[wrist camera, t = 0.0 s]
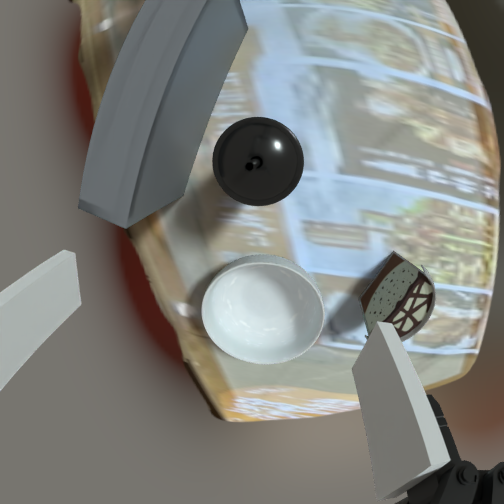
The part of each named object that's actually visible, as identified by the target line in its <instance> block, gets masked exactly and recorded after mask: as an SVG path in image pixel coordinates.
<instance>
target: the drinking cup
mask: <svg viewBox="0 0 504 504" xmlns="http://www.w3.org/2000/svg"><path fill="white" fill-rule="evenodd" d="M212 162H213V171H214V174H215V177H216V179H217V182H218V183H219V185H220V186H221V188H222V189H223V190H224V191H225V192H226V193H227V194H228V195H229V196H230V197H232V198H233V199H235V200H236V201H238V202H241V203H243V204H246V205H251V206H266V205H270V204H274V203H276V202H279V201H281V200H282V199H284V198H285V197H287V196H288V195H289V194H290V193H291V192H292V191H293V190H294V189H295V187H296V186H297V184H298V183H299V181H300V178H301V176H302V173H303V167H304V157H303V151H302V148H301V145H300V143H299V141H298V139H297V138H296V136H295V135H294V134H293V132H292V131H291V130H290V129H289V128H287V127H286V126H285V125H283V124H282V123H280V122H278V121H276V120H273V119H270V118H265V117H251V118H246V119H243V120H240V121H238V122H236V123H234V124H232V125H231V126H230V127H228V128H227V129H226V130H225V131H224V132H223V133H222V135H221V136H220V138H219V139H218V141H217V143H216V145H215V148H214V152H213V160H212Z"/></svg>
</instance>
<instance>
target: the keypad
mask: <svg viewBox="0 0 504 504" xmlns="http://www.w3.org/2000/svg"><path fill="white" fill-rule="evenodd" d="M247 30H248V26H247V23H246V20H245V16H244V13H243V10H242V7H241V4H240V1H239V0H145V2H144V4H143V6H142V8H141V9H140V11H139V13H138V15H137V17H136V19H135V21H134V23H133V25H132V27H131V29H130V31H129V33H128V35H127V37H126V39H125V41H124V43H123V46H122V48H121V50H120V53H119V55H118V57H117V60H116V62H115V65H114V67H113V70H112V72H111V75H110V78H109V80H108V83H107V86H106V89H105V92H104V95H103V98H102V101H101V104H100V107H99V111H98V114H97V118H96V121H95V125H94V128H93V132H92V136H91V141H90V145H89V149H88V153H87V158H86V163H85V168H84V173H83V179H82V185H81V191H80V198H79V205H78V208H79V209H81V210H83V211H86V212H88V213H90V214H93V215H95V216H97V217H99V218H102V219H104V220H106V221H109V222H111V223H113V224H116V225H118V226H120V227H123V228H125V229H127V228H128V227H130V226H131V225H133V224H135V223H136V222H138V221H140V220H141V219H143V218H145V217H146V216H148V215H150V214H152V213H153V212H155V211H157V210H159V209H160V208H162V207H164V206H166V205H167V204H169V203H171V202H173V201H175V200H176V199H178V198H180V197H182V196H183V195H184V192H185V189H186V185H187V182H188V179H189V176H190V173H191V170H192V167H193V164H194V161H195V158H196V155H197V152H198V149H199V146H200V143H201V141H202V138H203V135H204V132H205V129H206V127H207V124H208V121H209V119H210V116H211V113H212V111H213V108H214V106H215V103H216V101H217V98H218V96H219V93H220V91H221V88H222V86H223V83H224V81H225V79H226V76H227V74H228V72H229V69H230V67H231V65H232V63H233V60H234V58H235V56H236V54H237V51H238V49H239V47H240V45H241V43H242V41H243V39H244V37H245V34H246V32H247Z"/></svg>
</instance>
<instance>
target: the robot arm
mask: <svg viewBox="0 0 504 504" xmlns="http://www.w3.org/2000/svg"><path fill="white" fill-rule="evenodd" d="M81 304H82V303H81V296H80V290H79V282H78V274H77V265H76V255H75V253H73V252H69V251H66V250H63V251H61V252H59V253H58V254H56V255H55V256H53V257H51V258H50V259H48V260H47V261H45V262H44V263H42V264H41V265H39V266H37V267H36V268H34V269H33V270H31V271H30V272H28V273H27V274H26V275H24V276H23V277H21V278H20V279H18V280H17V281H15V282H14V283H13V284H11V285H10V286H8V287H7V288H6V289H4V290H3V291H2V292H0V391H1V390H2V388H3V387H4V386H5V385H6V383H7V382H8V381H9V380H10V378H12V376H13V375H14V374H15V373H16V372H17V371H18V370H19V368H20V367H21V366H22V365H23V364H24V363H25V362H26V361H27V360H28V358H29V357H30V356H31V355H32V354H33V353H34V352H35V351H36V350H37V349H38V348H39V346H41V344H42V343H43V342H44V341H45V340H46V339H47V338H48V337H49V336H50V335H51V334H52V333H53V332H54V331H55V330H56V329H57V328H58V327H59V326H60V325H61V324H62V323H63V322H64V321H65V320H66V319H67V318H68V317H69V316H70V315H71V314H72V313H73V312H74V311H75V310H76V309H77V308H78V307H79V306H80V305H81ZM352 372H353V376H354V380H355V384H356V389H357V393H358V397H359V402H360V406H361V411H362V416H363V421H364V425H365V430H366V436H367V441H368V446H369V452H370V458H371V464H372V470H373V476H374V483H375V491H376V498H377V501H379V500H385V499H390V498H395V497H397V496H399V495H401V494H402V493H404V492H406V491H407V494H408V497H406V498H404V499H402V500H401V501H399V502H397V503H395V504H504V462H500V463H499V464H497V465H496V466H495V467H494V468H492V469H491V470H477V469H476V467H475V466H474V465H473V464H472V463H471V462H469V461H465V460H464V461H461V459H460V456H459V454H458V451H457V448H456V445H455V443H454V440H453V437H452V435H451V432H450V429H449V427H447V422H446V419H445V418H444V417H443V416H444V414H443V412H442V410H441V407H440V405H439V404H438V402H437V401H436V400H435V399H434V397H433V396H432V395H426V394H425V391H424V389H423V387H422V384H421V382H420V380H419V378H418V375H417V373H416V371H415V369H414V367H413V365H412V362H411V360H410V358H409V356H408V354H407V352H406V350H405V348H404V346H403V344H402V342H401V340H400V338H399V336H398V334H397V332H396V330H395V328H394V326H393V324H392V323H385V322H378V321H377V322H376V324H375V326H374V328H373V330H372V332H371V334H370V336H369V338H368V340H367V342H366V344H365V346H364V348H363V349H362V351H361V353H360V355H359V357H358V359H357V360H356V362H355V364H354V366H353V367H352Z"/></svg>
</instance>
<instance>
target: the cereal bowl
mask: <svg viewBox="0 0 504 504" xmlns="http://www.w3.org/2000/svg"><path fill="white" fill-rule="evenodd" d="M201 314H202V320H203V324H204V327H205V329H206V331H207V333H208V335H209V336H210V338H211V339H212V341H213V342H214V343H215V344H216V345H217V346H218V347H219V348H220V349H221V350H223V351H224V352H226V353H227V354H229V355H231V356H233V357H235V358H237V359H239V360H242V361H246V362H249V363H255V364H277V363H282V362H286V361H289V360H292V359H294V358H296V357H298V356H300V355H301V354H303V353H304V352H306V351H307V350H308V349H309V348H310V347H311V346H312V345H313V344H314V343H315V341H316V340H317V339H318V337H319V335H320V333H321V331H322V328H323V324H324V318H325V309H324V303H323V299H322V295H321V293H320V290H319V288H318V286H317V284H316V283H315V281H314V280H313V279H312V277H311V276H310V275H309V274H308V273H307V272H306V271H305V270H304V269H303V268H301V267H300V266H299V265H297V264H295V263H294V262H292V261H290V260H287V259H285V258H283V257H279V256H275V255H251V256H247V257H244V258H241V259H238V260H236V261H234V262H232V263H230V264H228V265H227V266H226V267H224V268H223V269H222V270H221V271H219V273H218V274H216V276H215V277H214V278H213V280H212V281H211V282H210V284H209V286H208V287H207V289H206V291H205V294H204V296H203V301H202V308H201Z"/></svg>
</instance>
